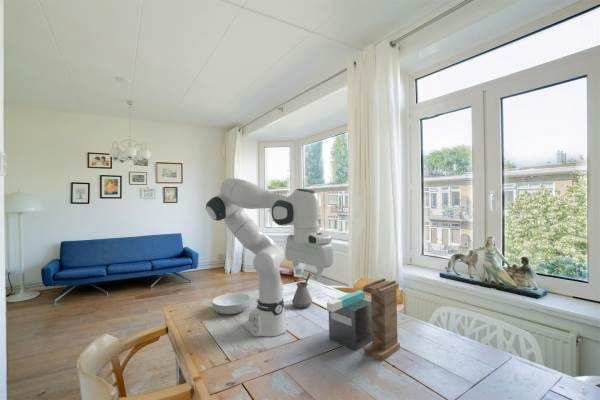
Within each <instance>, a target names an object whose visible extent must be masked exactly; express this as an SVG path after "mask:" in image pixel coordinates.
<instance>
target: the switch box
mask: <svg viewBox="0 0 600 400" xmlns="http://www.w3.org/2000/svg"><path fill="white" fill-rule="evenodd" d="M328 335H329V336H328V338H329V340H330V341H332V342H335V343H337V344H339V345H341V346H343V347H345V348H347V349H350V350H352V351H355V352H357V351H359V350H360V349H362V348H365V347H366V346H368V345H369V344H371V343H372V312H371V300H367V299H362V300H360V301H357V302H355V303H353V304H350V305H348V306H346V307H343V308H341V309H339V310H336V311H334V312H331V311H329V310H328Z"/></svg>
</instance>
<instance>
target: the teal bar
mask: <svg viewBox="0 0 600 400" xmlns="http://www.w3.org/2000/svg"><path fill="white" fill-rule="evenodd" d="M362 299H363V300H366V292H363V290H361V289H359V290H356V291H354V292H351V293H348V294H345V295H343V296H342V295H341V296H340V297H338V298H335V299H332V300H330V301H326V310H327V311H328V312H329V311H331V312H334V311H336V310H339V309H341V308H343V307H346V306H348V305H350V304H353V303H355V302H357V301H360V300H362Z"/></svg>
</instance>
